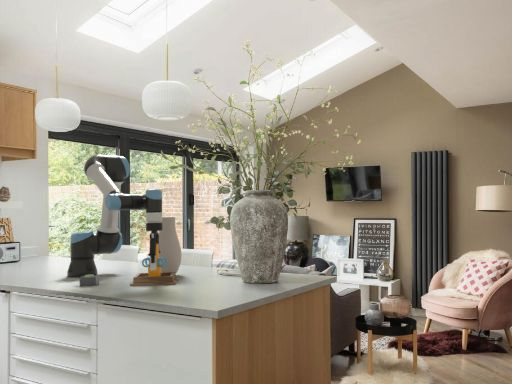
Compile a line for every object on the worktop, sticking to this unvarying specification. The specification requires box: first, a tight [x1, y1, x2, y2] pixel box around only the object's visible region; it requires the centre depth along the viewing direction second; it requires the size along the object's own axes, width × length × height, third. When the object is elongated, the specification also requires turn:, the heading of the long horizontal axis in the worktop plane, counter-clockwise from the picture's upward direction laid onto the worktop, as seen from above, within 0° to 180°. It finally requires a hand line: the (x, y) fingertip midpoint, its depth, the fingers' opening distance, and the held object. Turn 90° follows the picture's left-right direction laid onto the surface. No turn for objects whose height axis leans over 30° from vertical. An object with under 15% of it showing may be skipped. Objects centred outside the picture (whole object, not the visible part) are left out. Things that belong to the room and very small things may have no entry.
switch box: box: [79, 274, 100, 288], centre depth 232 cm, size 7×7×4 cm
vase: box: [158, 216, 182, 275], centre depth 263 cm, size 14×14×30 cm
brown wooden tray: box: [129, 272, 179, 287], centre depth 237 cm, size 19×20×4 cm
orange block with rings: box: [141, 244, 167, 277], centre depth 238 cm, size 12×10×15 cm
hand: (154, 268), depth 238 cm, fingers closed on orange block with rings, 12 cm apart
